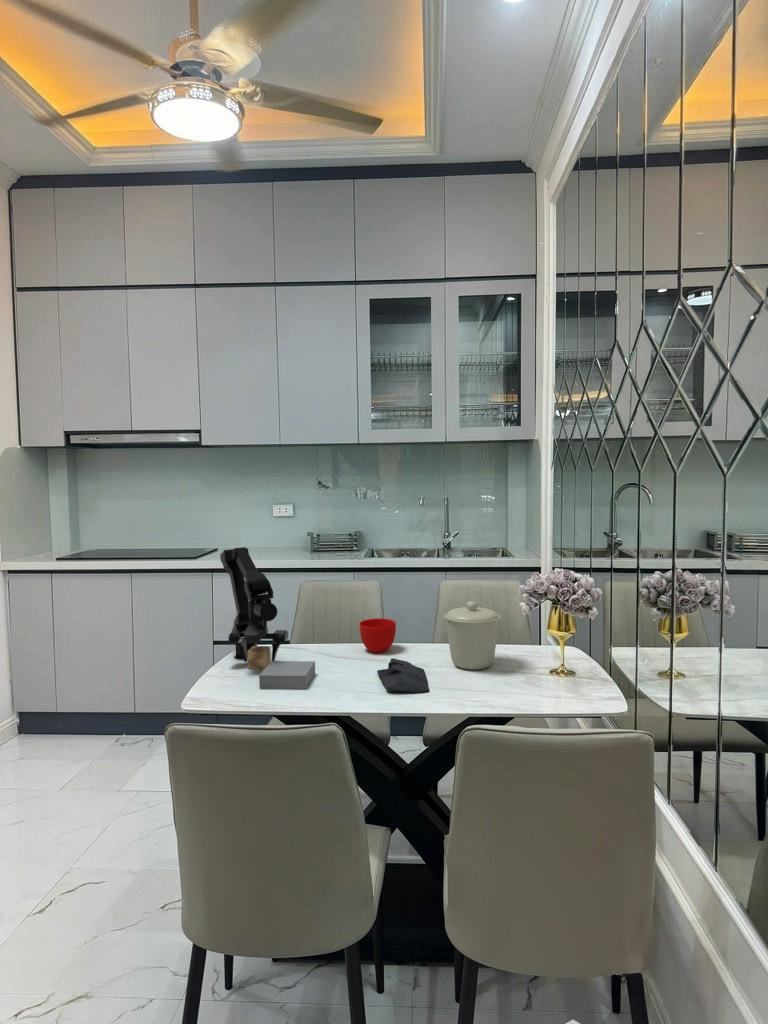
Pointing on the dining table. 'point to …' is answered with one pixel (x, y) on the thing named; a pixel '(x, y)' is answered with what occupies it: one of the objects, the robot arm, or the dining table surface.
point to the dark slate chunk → (404, 677)
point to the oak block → (259, 657)
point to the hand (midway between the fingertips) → (259, 661)
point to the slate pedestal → (287, 675)
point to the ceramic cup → (377, 634)
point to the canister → (472, 636)
